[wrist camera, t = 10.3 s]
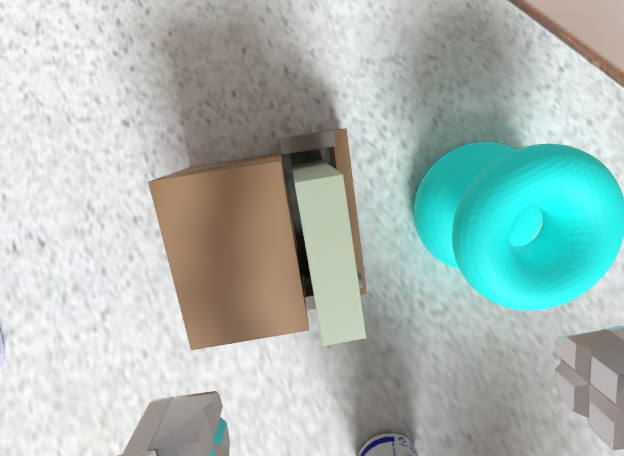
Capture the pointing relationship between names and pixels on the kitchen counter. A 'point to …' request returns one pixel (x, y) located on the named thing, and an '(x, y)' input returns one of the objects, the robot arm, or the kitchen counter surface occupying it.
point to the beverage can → (388, 446)
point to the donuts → (522, 220)
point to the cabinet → (243, 243)
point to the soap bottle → (1, 351)
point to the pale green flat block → (330, 251)
